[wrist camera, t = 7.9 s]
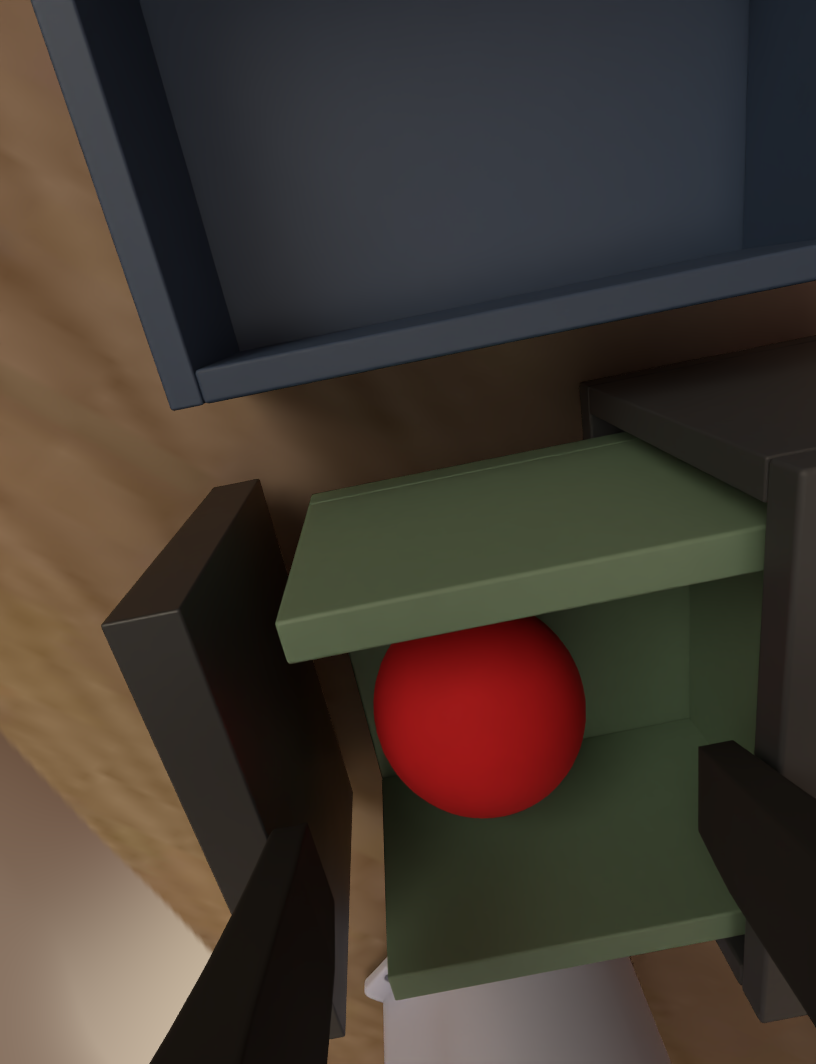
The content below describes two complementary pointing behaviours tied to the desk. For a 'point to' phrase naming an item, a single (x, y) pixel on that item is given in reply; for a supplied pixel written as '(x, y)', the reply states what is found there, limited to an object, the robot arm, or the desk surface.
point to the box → (433, 170)
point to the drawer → (447, 606)
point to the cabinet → (790, 544)
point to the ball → (481, 716)
